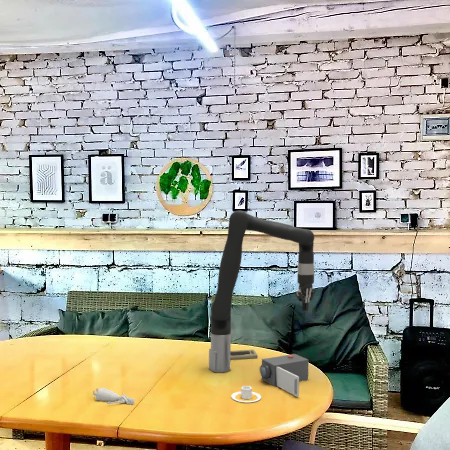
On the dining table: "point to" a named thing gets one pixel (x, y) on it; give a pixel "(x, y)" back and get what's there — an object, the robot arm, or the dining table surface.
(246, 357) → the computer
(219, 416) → the dining table surface
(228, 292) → the robot arm
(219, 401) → the dining table surface
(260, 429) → the dining table surface
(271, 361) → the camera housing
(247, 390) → the candle holder
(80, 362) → the dining table surface
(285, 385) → the side door
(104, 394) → the woman figurine
